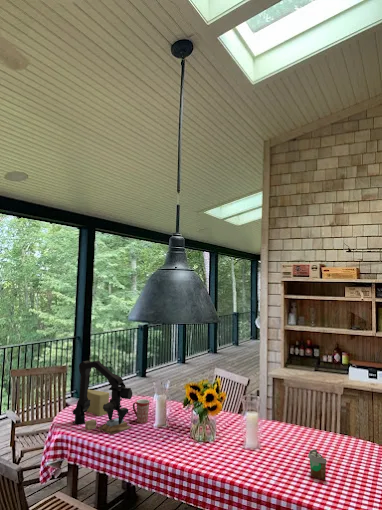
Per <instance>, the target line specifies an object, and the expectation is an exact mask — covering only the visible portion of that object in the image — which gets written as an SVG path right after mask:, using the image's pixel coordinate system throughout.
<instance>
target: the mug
mask: <svg viewBox="0 0 382 510" xmlns="http://www.w3.org/2000/svg"><path fill="white" fill-rule="evenodd" d="M150 402H151V401H150V400H149V399H145V398H144V399H143V398H141V399H137V400H136V401H134V402H133V403H132V409H133V412H134V415H135V417H136V423H138V424H146V423H148V421H149V410H150ZM135 405H136V407H135Z"/></svg>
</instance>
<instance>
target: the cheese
mask: <svg viewBox="0 0 382 510" xmlns="http://www.w3.org/2000/svg"><path fill="white" fill-rule="evenodd" d="M87 398H88V400H90V406H89V408H88V409H87V412H86V413H90V414H92V415H95V416H97V417H102V416H105V415H108V414H107V412H106V411H104V409H103V405H104V404H107V403H109V402H110V392H106V391H102V390H94V389H90V388H88V393H87Z"/></svg>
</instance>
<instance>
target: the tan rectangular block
mask: <svg viewBox="0 0 382 510" xmlns="http://www.w3.org/2000/svg"><path fill="white" fill-rule="evenodd" d="M84 428H85V430H87V429H88V431H90V430H94V429H97V420H95V419H90V420H85V423H84Z"/></svg>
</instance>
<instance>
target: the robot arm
mask: <svg viewBox="0 0 382 510" xmlns="http://www.w3.org/2000/svg"><path fill="white" fill-rule="evenodd" d="M93 368H94V369H95V370H97V372H99V373H100V374H102V376H104V377H105V379H107V381H108V384H109V385H110V387H109V388H108V390H109V391H111V398H109V403H107V404H104V405H103V409H104V411H106V412H107V414H106V415H107V418H108V421H109V420H111V419H112V420H113V414H114V411H115V412H116V413H117V414H116V415H117V416H118V418H119V425H120V424H121V422H122V420H123V419H124V418H125V416H126V415H128V414H129V409H128V408H127V407H123V406H122V404H121V401H122V400H123V399H124V400H131V399H132V397H133V391H132V387H127V386H126V384H125V383H124V381H123V377H121V376H120V375H118V374H117V373H116V374H115V373H114V372H112V371H111V370H109V369H108V368H107V367H106V366H105V365H104V364H103V363H102V362H101V361H100V360H95V361H90V360H85V361H82V362H80V363H79V364H78V371H79V374H80V386H79V387H80V388H79V389H80V390H79V398H78V400H77V402H76V407H75V408H74V409H73V410H72V415H74V421H73V422H72V424H75V425H78V426H79V425H83V424H85V421H86V419H85V418H86V415H85V413H88V412H87V409H88V408H89V406H90V400H88V398H87V393H88V389H89V375H90V373H91V371H92V369H93Z"/></svg>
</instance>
